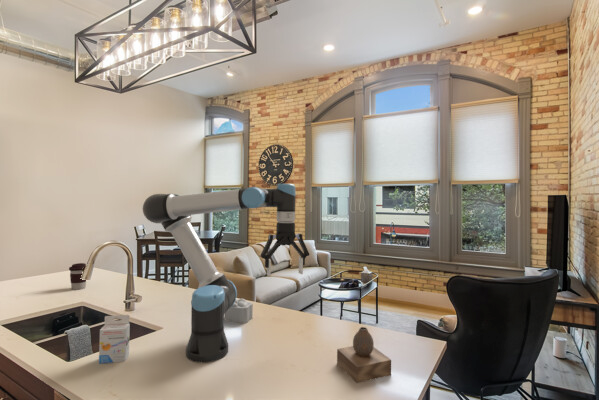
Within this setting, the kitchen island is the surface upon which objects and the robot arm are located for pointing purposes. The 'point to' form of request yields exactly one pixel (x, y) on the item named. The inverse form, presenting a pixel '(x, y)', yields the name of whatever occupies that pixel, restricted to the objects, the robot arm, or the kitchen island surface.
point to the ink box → (114, 339)
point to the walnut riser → (363, 364)
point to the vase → (363, 342)
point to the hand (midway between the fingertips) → (285, 274)
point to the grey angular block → (239, 312)
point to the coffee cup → (77, 276)
